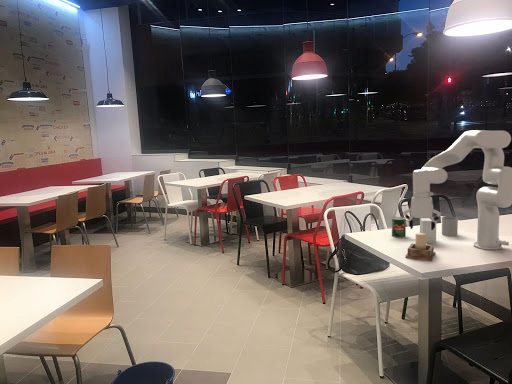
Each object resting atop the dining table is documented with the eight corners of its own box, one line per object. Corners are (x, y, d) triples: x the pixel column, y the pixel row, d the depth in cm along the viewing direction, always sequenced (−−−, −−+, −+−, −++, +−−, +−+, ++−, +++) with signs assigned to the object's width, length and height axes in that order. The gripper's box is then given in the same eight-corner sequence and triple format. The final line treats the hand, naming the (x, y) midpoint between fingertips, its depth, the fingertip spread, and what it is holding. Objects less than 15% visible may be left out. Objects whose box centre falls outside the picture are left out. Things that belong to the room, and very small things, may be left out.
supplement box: (436, 243, 217) (436, 220, 215) (422, 243, 218) (422, 220, 217) (433, 239, 224) (433, 217, 222) (419, 239, 226) (419, 218, 224)
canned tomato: (396, 238, 231) (396, 219, 229) (389, 235, 238) (389, 217, 237) (408, 236, 232) (408, 218, 231) (400, 233, 240) (400, 216, 238)
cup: (460, 235, 231) (461, 218, 229) (450, 236, 228) (450, 220, 226) (448, 232, 239) (449, 215, 237) (438, 233, 236) (438, 217, 234)
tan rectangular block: (426, 253, 197) (427, 233, 196) (425, 255, 193) (425, 236, 191) (416, 251, 200) (416, 232, 198) (414, 254, 195) (414, 235, 194)
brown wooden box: (435, 253, 198) (435, 245, 198) (431, 260, 188) (431, 251, 188) (410, 251, 205) (410, 242, 204) (405, 257, 195) (405, 248, 194)
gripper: (441, 193, 191) (442, 228, 193) (404, 193, 200) (405, 226, 202) (439, 196, 184) (440, 231, 187) (401, 195, 194) (402, 229, 196)
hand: (422, 228), depth 195 cm, fingers open, 9 cm apart
